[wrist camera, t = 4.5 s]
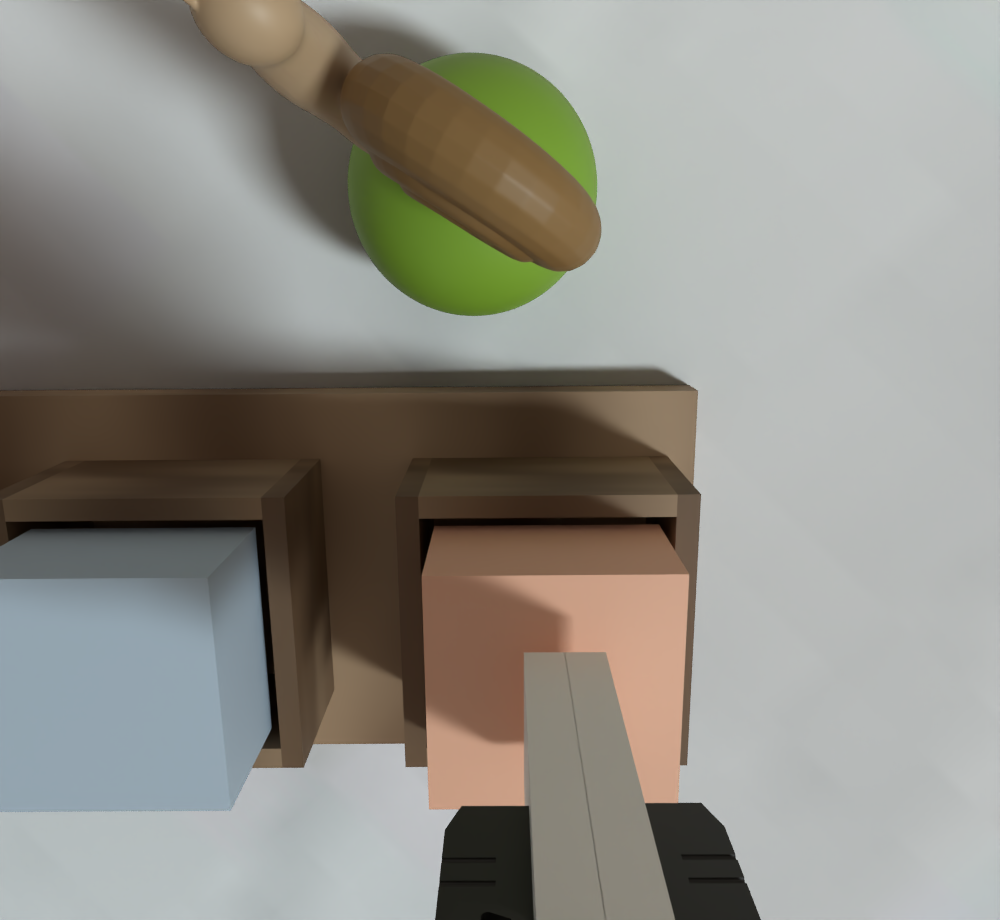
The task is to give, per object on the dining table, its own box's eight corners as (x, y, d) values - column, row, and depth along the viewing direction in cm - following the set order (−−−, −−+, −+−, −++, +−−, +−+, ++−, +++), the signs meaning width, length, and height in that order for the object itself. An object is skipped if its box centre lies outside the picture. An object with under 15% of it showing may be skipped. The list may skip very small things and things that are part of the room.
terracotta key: (440, 726, 19) (429, 809, 16) (434, 525, 18) (421, 576, 15) (650, 725, 19) (677, 807, 16) (658, 524, 18) (689, 574, 15)
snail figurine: (401, 16, 19) (251, -358, 8) (625, 161, 20) (793, 18, 9) (296, 217, 21) (27, 153, 9) (512, 348, 21) (526, 448, 10)
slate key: (61, 729, 19) (-17, 811, 16) (32, 528, 18) (-60, 579, 15) (271, 727, 19) (230, 810, 16) (255, 527, 18) (208, 577, 15)
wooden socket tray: (-206, 727, 24) (-369, 833, 19) (-285, 392, 22) (-490, 426, 17) (673, 722, 24) (712, 827, 19) (688, 385, 22) (738, 416, 17)
